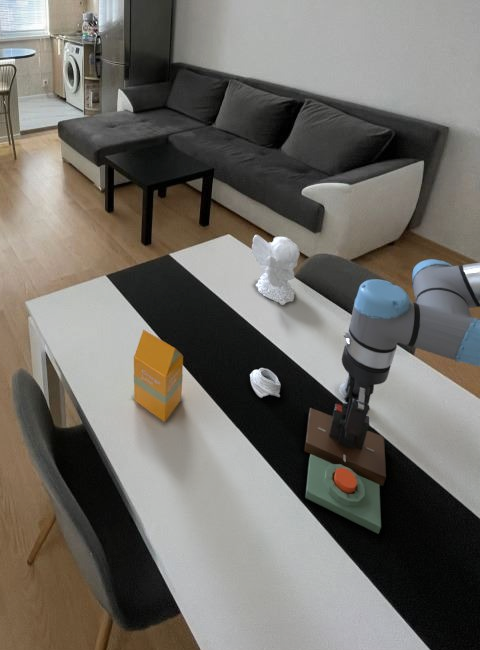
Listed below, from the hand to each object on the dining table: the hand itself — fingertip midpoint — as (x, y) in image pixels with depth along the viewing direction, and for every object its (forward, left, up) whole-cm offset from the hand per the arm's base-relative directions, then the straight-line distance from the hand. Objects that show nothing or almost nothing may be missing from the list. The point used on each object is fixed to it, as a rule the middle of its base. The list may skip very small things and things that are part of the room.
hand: (346, 436), depth 90 cm
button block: (0, +10, -4) cm, 11 cm away
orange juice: (+39, +8, -4) cm, 40 cm away
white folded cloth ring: (+17, -8, -4) cm, 19 cm away
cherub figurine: (+20, -44, -4) cm, 49 cm away
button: (0, +10, 0) cm, 10 cm away
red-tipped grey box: (0, 0, -1) cm, 1 cm away
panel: (0, 0, -4) cm, 4 cm away
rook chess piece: (-1, -15, -4) cm, 16 cm away
